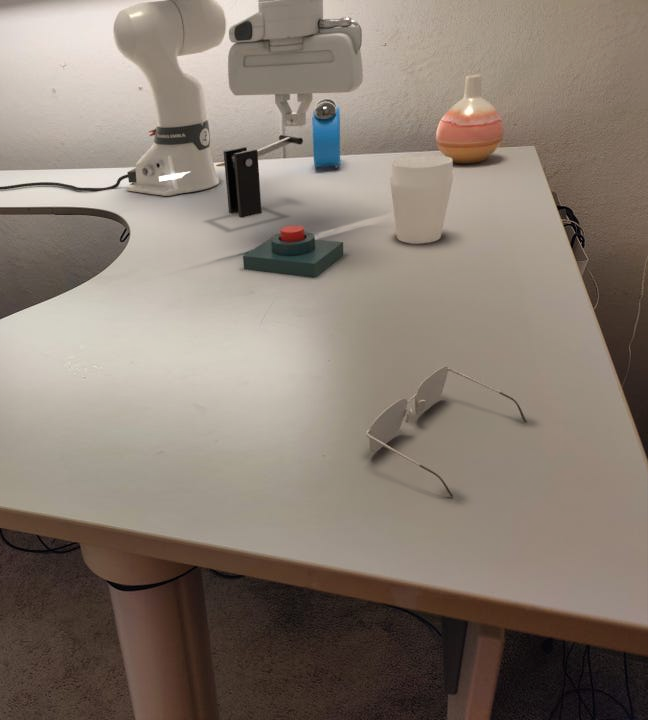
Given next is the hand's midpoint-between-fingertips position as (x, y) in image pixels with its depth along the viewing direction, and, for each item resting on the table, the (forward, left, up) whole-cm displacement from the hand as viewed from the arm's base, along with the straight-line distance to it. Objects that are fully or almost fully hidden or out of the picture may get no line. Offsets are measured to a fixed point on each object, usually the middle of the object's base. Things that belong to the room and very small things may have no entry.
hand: (294, 125), depth 99 cm
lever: (-15, +17, -8) cm, 25 cm away
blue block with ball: (-21, +56, -19) cm, 63 cm away
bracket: (-18, +13, -19) cm, 29 cm away
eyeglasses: (+36, -43, -19) cm, 60 cm away
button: (+2, -6, -16) cm, 17 cm away
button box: (+2, -6, -19) cm, 20 cm away
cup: (+16, +10, -19) cm, 27 cm away
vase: (+9, +64, -19) cm, 67 cm away
